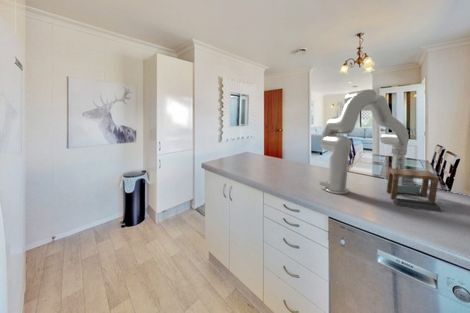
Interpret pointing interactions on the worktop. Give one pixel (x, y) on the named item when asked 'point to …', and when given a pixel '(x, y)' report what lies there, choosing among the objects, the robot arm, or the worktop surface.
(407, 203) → the dark grey flat slab
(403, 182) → the medicine box
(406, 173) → the tunnel
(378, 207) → the worktop surface
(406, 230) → the worktop surface
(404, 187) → the grey-green low block
